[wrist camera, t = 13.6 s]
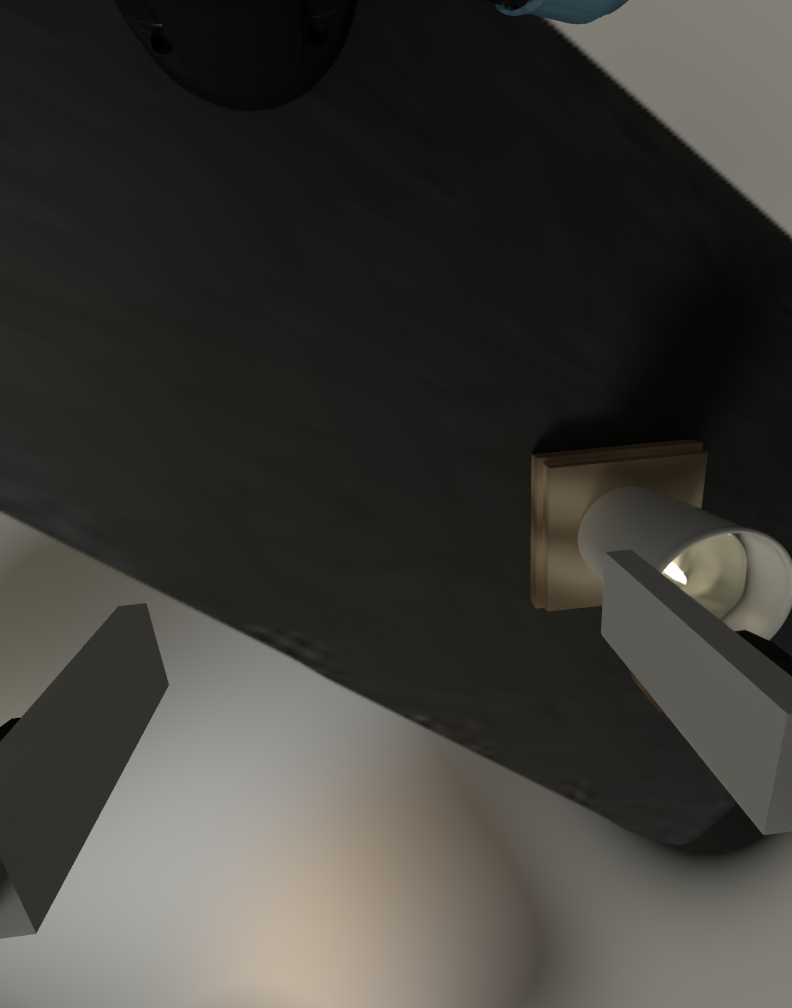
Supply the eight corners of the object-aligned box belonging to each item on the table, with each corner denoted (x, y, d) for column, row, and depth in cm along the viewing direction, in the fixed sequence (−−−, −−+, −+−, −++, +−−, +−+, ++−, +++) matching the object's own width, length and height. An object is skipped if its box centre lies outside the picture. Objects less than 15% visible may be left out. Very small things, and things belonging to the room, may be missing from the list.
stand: (531, 454, 43) (543, 462, 41) (691, 439, 44) (714, 446, 41) (530, 600, 48) (541, 616, 45) (675, 584, 48) (695, 600, 46)
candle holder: (568, 482, 41) (649, 538, 30) (686, 469, 42) (810, 520, 30) (566, 590, 44) (637, 678, 33) (675, 578, 45) (784, 661, 33)
